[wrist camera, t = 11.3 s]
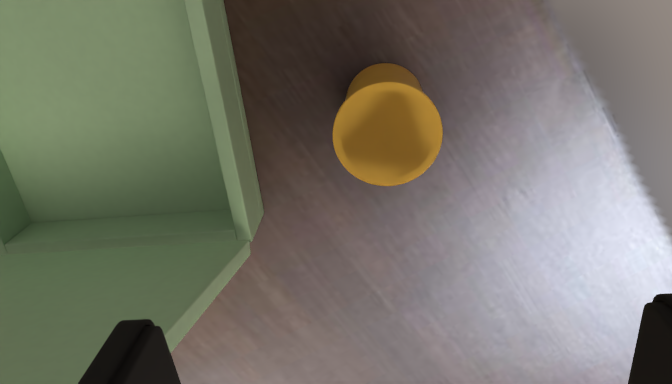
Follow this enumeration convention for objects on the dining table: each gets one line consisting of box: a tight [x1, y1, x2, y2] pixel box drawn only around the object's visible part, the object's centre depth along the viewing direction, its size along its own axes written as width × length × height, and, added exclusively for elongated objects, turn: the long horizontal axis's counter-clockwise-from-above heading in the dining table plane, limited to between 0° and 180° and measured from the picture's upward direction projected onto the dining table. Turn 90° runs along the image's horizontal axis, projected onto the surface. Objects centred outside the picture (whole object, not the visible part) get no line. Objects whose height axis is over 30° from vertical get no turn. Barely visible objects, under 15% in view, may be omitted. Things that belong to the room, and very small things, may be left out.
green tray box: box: [0, 0, 264, 255], centre depth 25 cm, size 16×15×3 cm
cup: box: [333, 63, 443, 186], centre depth 23 cm, size 5×5×5 cm
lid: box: [0, 240, 251, 384], centre depth 19 cm, size 16×15×5 cm
